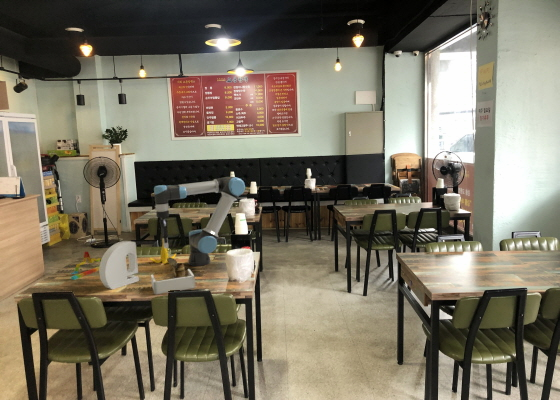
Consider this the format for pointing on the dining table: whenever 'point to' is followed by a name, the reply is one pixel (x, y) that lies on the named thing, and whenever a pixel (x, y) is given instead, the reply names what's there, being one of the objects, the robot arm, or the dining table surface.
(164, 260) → the banana peel
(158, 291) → the box
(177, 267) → the wooden mug
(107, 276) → the bracket
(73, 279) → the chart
